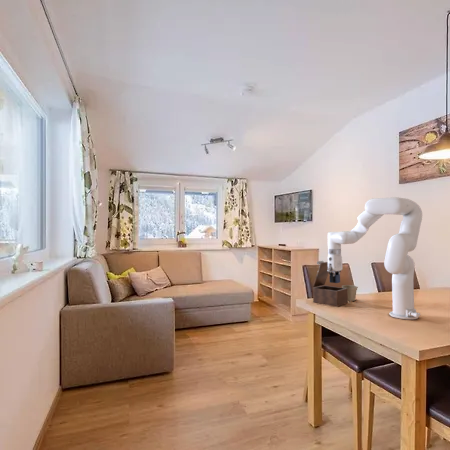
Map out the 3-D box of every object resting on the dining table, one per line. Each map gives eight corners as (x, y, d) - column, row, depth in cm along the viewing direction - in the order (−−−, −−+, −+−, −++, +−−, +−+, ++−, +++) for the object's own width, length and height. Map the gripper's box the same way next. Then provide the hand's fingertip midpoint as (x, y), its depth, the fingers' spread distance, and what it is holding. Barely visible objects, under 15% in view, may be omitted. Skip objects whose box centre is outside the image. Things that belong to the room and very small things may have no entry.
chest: (347, 303, 183) (347, 288, 184) (337, 306, 175) (336, 291, 175) (324, 299, 195) (323, 285, 196) (313, 302, 187) (312, 287, 187)
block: (340, 282, 183) (340, 274, 183) (336, 283, 180) (336, 275, 180) (333, 281, 186) (333, 274, 186) (329, 282, 183) (329, 274, 183)
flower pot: (360, 301, 187) (360, 287, 187) (345, 301, 187) (345, 287, 187) (354, 298, 196) (354, 285, 196) (339, 298, 196) (339, 285, 197)
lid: (332, 261, 191) (325, 258, 195) (321, 263, 183) (314, 259, 186) (324, 284, 195) (317, 280, 199) (313, 287, 187) (306, 283, 191)
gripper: (333, 253, 175) (333, 284, 175) (347, 251, 186) (347, 281, 186) (321, 252, 181) (321, 283, 180) (335, 251, 192) (336, 279, 191)
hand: (334, 281), depth 183 cm, fingers closed on block, 4 cm apart
